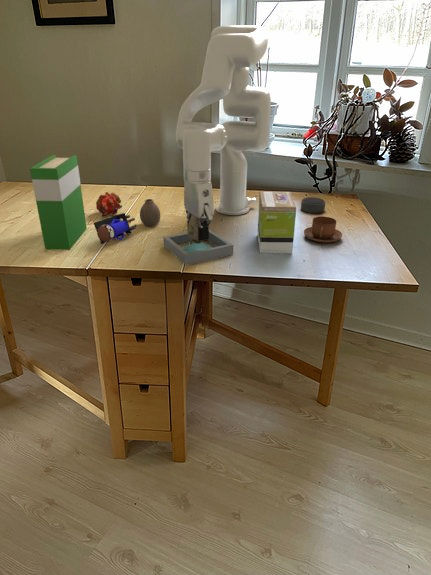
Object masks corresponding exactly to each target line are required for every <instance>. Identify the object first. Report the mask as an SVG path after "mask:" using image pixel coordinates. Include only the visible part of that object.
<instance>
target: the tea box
mask: <svg viewBox="0 0 431 575" xmlns="http://www.w3.org/2000/svg"><path fill="white" fill-rule="evenodd" d="M296 216H297V206H296V203H295V201H294V198H293V197H292V193H291V191H259V194H258V216H257V218H258V219H257V241H258V248H259V253H260V254H293V248H294V239H295V238H294V237H295V227H296Z"/></svg>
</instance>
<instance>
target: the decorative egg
mask: <svg viewBox="0 0 431 575" xmlns="http://www.w3.org/2000/svg"><path fill="white" fill-rule="evenodd" d="M202 216H205V214H202ZM204 220H205V218H203V219H202V223H203V221H204ZM198 227H199V221H198V218H197V217H196V216H194V215H193V214H192V215H191V217H190V220H189V224H188V227H187V232H188V236H189V238H190V239H191V241H193V242H192V243H193V244H203V242H205V240H202V241H199V240H198Z"/></svg>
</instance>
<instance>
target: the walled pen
mask: <svg viewBox="0 0 431 575" xmlns="http://www.w3.org/2000/svg"><path fill="white" fill-rule="evenodd" d="M206 241H208V242H210V243H211V244H212V245H214V247H213V246H211V245H209V244H206V243H194V242H193V241H191V239H190V238H189V236H188V231H187V232H181V233H177V234H172V235H167V236H163V247H164V248H165V249H166V250H168V251H169V252H170V253H171V254H172V255H174V256H175V257H176V258H177V259H178V260H179V261H181V262H182V264H184V265H186V266H189V265H192V264H193V265H194V264H197V263H202V262H207V261H211V260H215V259H220V258H224V257H228V256H233V255H234V244H233V243H232V242H230V241H228V240H227V239H225V238H223V237H222V236H221V235H219V234H217V232H214V231H213V230H211V229H210V228H209V239H207V240H206ZM185 244H187V245H185ZM180 245H185V246H184V247H181V246H180Z"/></svg>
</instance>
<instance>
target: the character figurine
mask: <svg viewBox="0 0 431 575" xmlns="http://www.w3.org/2000/svg"><path fill="white" fill-rule="evenodd" d="M129 218H130V219H129ZM135 220H136V219H135V218H134V217H132V218H131V215H130V214H129V215H126V212H123V213H119V214H115V215H112V216H108V217H106V218H104V219H101V220H98V221H95V222H93V226H94V228H95V232H96V235H97V237H98V239H99V242H100V244H101V245H102V244H105V243H108V242H111V241H112V240H119V241H123V239H124V238H125V236H126V235H129V234H132V231H134V230H137V226H138V225H137V224H134V225H131V226H130V224H129V223H131V222H134V221H135Z"/></svg>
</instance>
